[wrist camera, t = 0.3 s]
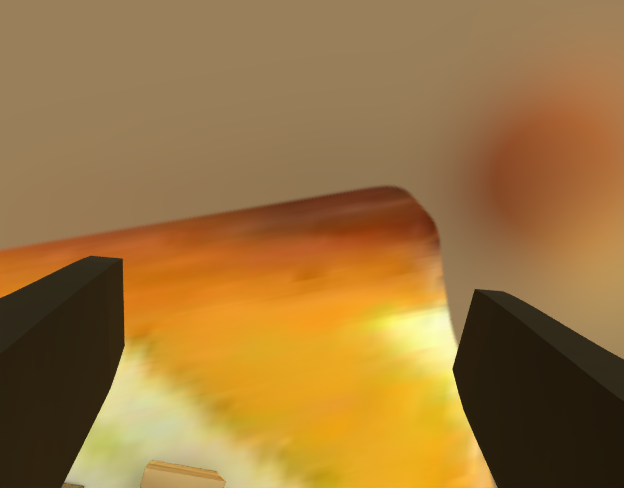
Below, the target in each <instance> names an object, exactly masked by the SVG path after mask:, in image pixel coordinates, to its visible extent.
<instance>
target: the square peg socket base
mask: <svg viewBox="0 0 624 488" xmlns="http://www.w3.org/2000/svg"><path fill="white" fill-rule="evenodd" d="M61 488H84V486H80V485H74V484H67V483H63V485H62V487H61Z"/></svg>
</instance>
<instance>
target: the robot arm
mask: <svg viewBox="0 0 624 488" xmlns="http://www.w3.org/2000/svg"><path fill="white" fill-rule="evenodd" d="M124 346H125V343H124V300H123V259H121V258H109V257H98V256H89V257H86V258H83V259H81V260H79V261H76V262H74V263H72V264H70V265H68V266H66V267H64V268H62V269H60V270H58V271H56V272H54V273H52V274H50V275H48V276H46V277H44V278H42V279H40V280H38V281H36V282H33V283H31V284H29V285H27V286H25V287H23V288H21V289H19V290H17V291H15V292H13V293H11V294H9V295H7V296H4V297H2V298H0V488H61V487H62V485H63V483H64V481H65V479H66V477H67V475H68V473H69V471H70V469H71V467H72V465H73V463H74V461H75V459H76V457H77V455H78V453H79V451H80V449H81V447H82V445H83V443H84V441H85V439H86V437H87V435H88V433H89V431H90V429H91V427H92V425H93V423H94V421H95V419H96V417H97V415H98V413H99V411H100V409H101V407H102V405H103V403H104V401H105V399H106V397H107V395H108V392H109V390H110V388H111V385H112V383H113V380H114V377H115V374H116V371H117V368H118V365H119V362H120V359H121V355H122V352H123V349H124ZM453 373H454V377H455V381H456V385H457V389H458V393H459V396H460V399H461V403H462V406H463V409H464V412H465V415H466V417H467V419H468V422H469V424H470V426H471V429H472V431H473V433H474V436H475V438H476V440H477V442H478V445H479V447H480V449H481V451H482V454H483V456H484V458H485V460H486V463H487V465H488V467H489V469H490V471H491V474H492V476H493V478H494V480H495V483H496V485H497V487H498V488H624V359H622V358H620V357H618V356H616V355H614V354H613V353H611V352H609V351H607V350H605V349H604V348H602V347H600V346H598V345H597V344H595V343H593V342H592V341H590V340H588V339H587V338H585V337H583V336H581V335H580V334H578V333H576V332H574V331H573V330H571V329H570V328H568V327H566V326H564V325H563V324H561V323H560V322H558V321H556V320H555V319H553V318H551V317H550V316H548V315H546V314H545V313H543V312H541V311H540V310H538V309H536V308H534V307H533V306H531V305H529V304H527V303H526V302H524V301H522V300H520V299H518V298H516V297H514V296H512V295H510V294H508V293H505V292H502V291H491V290H480V289H475V291H474V294H473V298H472V301H471V305H470V309H469V312H468V316H467V319H466V323H465V326H464V330H463V333H462V337H461V340H460V344H459V347H458V351H457V355H456V358H455V362H454V365H453Z"/></svg>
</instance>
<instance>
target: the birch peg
mask: <svg viewBox="0 0 624 488" xmlns="http://www.w3.org/2000/svg"><path fill="white" fill-rule="evenodd" d="M224 486H225V481H224V479H223V478H222V477H221V476H220V475H219V474H218V473H217V472H216V471H211V470H205V469H199V468H194V467H188V466H182V465H176V464H170V463H165V462H159V461H153V460H152V461H151V462H150V463H149V464H148V465H147V466H146V468H145V471H144V474H143V478H142V482H141V486H140V488H224Z"/></svg>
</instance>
